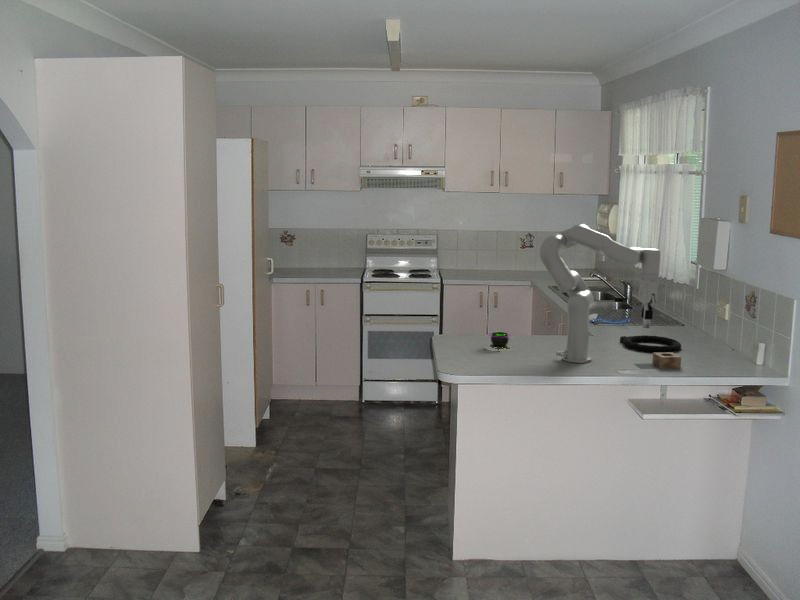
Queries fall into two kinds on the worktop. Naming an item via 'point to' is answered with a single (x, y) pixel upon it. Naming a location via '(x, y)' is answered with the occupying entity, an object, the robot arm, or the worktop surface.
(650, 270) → the robot arm
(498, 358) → the worktop surface
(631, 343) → the cable lock
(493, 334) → the toy cauldron
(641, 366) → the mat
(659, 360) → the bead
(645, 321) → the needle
